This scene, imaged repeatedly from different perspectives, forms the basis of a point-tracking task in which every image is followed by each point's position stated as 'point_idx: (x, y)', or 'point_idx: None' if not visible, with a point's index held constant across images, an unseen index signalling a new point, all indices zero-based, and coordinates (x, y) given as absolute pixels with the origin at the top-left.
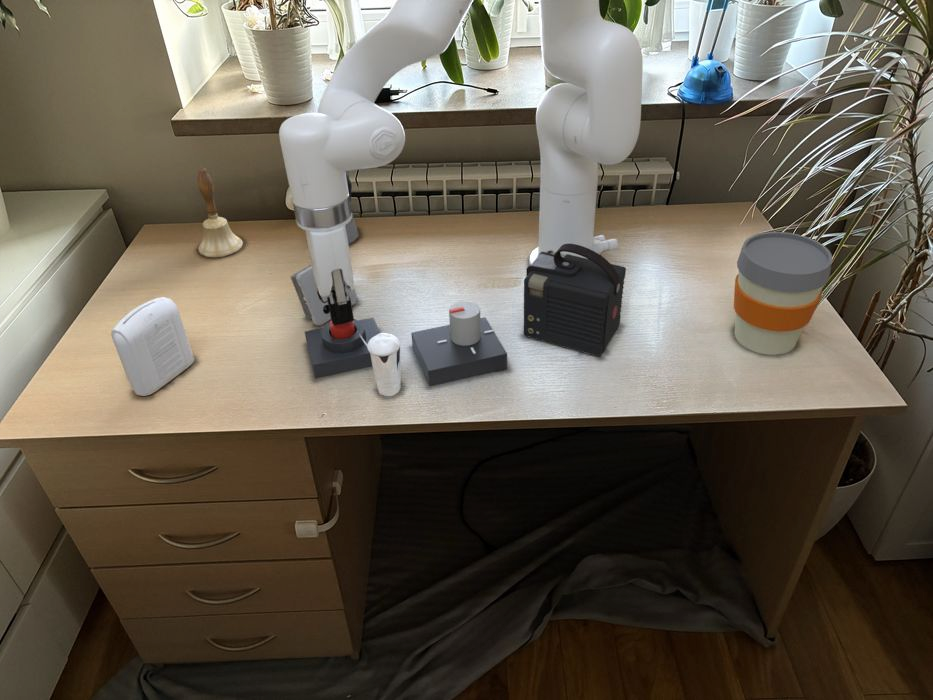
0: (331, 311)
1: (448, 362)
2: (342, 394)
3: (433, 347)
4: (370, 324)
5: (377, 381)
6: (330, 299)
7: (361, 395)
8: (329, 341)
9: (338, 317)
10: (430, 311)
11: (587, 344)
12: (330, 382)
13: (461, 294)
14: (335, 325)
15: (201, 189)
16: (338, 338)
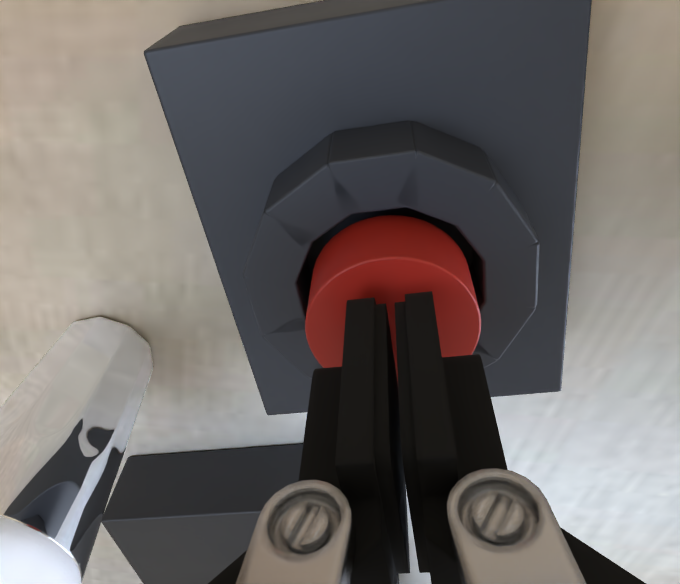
0: (342, 391)
1: (153, 568)
2: (59, 173)
3: (247, 547)
4: (498, 375)
5: (34, 367)
6: (241, 573)
7: (61, 253)
8: (278, 211)
9: (311, 395)
10: (587, 504)
11: None
12: (152, 114)
13: (644, 579)
14: (367, 296)
15: None
16: (316, 261)
